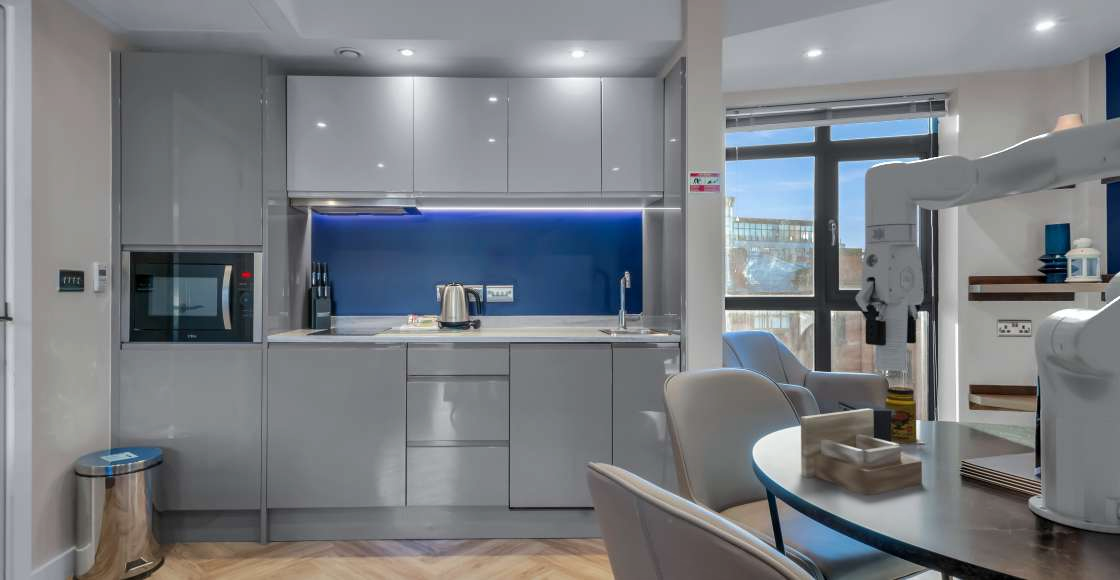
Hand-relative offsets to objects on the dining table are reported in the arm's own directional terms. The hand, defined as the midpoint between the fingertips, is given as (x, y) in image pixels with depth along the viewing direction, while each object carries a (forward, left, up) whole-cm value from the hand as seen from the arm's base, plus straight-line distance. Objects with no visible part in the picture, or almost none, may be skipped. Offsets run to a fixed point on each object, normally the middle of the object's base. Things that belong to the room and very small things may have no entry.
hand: (890, 343), depth 95 cm
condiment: (+24, -36, -26) cm, 51 cm away
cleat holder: (+9, -4, -26) cm, 28 cm away
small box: (+19, -18, -26) cm, 37 cm away
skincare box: (0, 0, -5) cm, 5 cm away
